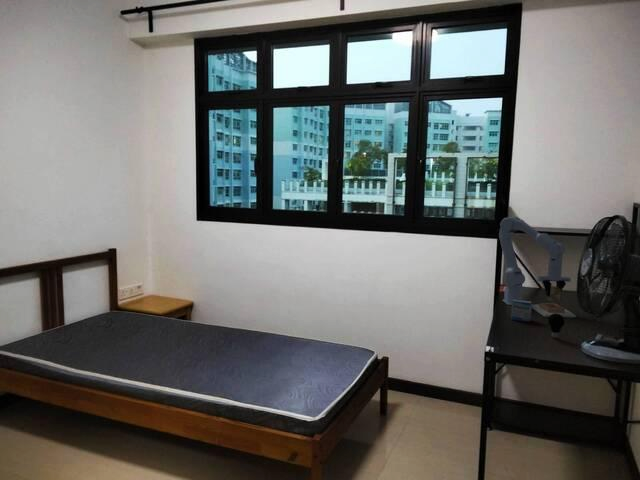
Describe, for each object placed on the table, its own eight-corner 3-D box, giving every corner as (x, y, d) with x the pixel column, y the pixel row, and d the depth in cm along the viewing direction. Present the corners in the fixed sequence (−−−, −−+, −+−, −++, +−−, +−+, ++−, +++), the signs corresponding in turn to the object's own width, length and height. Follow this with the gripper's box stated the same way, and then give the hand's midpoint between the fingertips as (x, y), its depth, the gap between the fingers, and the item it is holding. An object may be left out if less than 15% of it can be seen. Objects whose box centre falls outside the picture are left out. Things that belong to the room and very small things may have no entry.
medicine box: (511, 319, 211) (512, 300, 210) (512, 317, 215) (513, 298, 214) (530, 322, 208) (531, 303, 207) (530, 319, 212) (532, 301, 210)
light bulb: (548, 334, 191) (550, 310, 189) (564, 338, 187) (566, 313, 186) (545, 338, 186) (546, 313, 185) (561, 341, 182) (563, 316, 181)
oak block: (551, 301, 222) (552, 288, 221) (545, 298, 228) (546, 286, 227) (559, 301, 221) (560, 289, 221) (554, 298, 227) (555, 286, 227)
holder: (529, 306, 235) (529, 300, 234) (557, 307, 234) (558, 301, 234) (544, 316, 217) (545, 310, 216) (575, 317, 216) (576, 311, 216)
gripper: (542, 269, 219) (540, 297, 221) (574, 269, 218) (572, 298, 220) (536, 266, 226) (534, 294, 228) (567, 267, 225) (565, 294, 227)
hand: (552, 296), depth 224 cm, fingers closed on oak block, 4 cm apart
